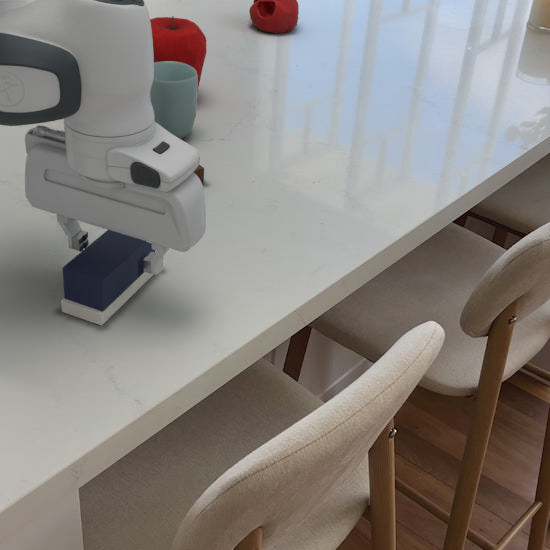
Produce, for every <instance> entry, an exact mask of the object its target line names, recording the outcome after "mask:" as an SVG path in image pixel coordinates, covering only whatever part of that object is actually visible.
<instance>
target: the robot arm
mask: <svg viewBox="0 0 550 550" xmlns="http://www.w3.org/2000/svg"><path fill="white" fill-rule="evenodd" d="M150 19H151V18H150V13H149V10H148V7H147V4H146V2H145V0H0V126H4V127H19V126H20V127H21V126H29V125H36V124H37V125H36V126H35V127H32V128H30V129H28V130H27V132H26V133H25V135H24V145H25V153H26V157H25V158H26V159H25V168H24V194H25V198H26V200H27V201H28V202H29V204H30V205H31V207H32V208H35V209H37V210H38V209H39V210H42V211H45V212H48V213H52V214H54V215H56V221H57V223H58V224H59V226H60V228H61V229H62V231H63V233H64V234H65V236H66V237H67V242H68V244H67V245H68V249H70V250H74V251H77V252H79V253H81V252H82V251H83V250H84V249H85V248H87V247H88V246H89V232H88V231H86V230H83V228H82V227H81V225H80V223H79V222H82V223H85V224H88V225H92V226H94V227H98V228H101V229H104V230H111V231H114V232H118V233H121V234H124V235H128V236H131V237H134V238H137V239H141V240H144V241H146V242H149V243H152V249H153V250H155V252H151V253H150V254H148V256H147V257H145V258H144V259H143V265H144V268H143V270H144V272H147V273H150V274H153V276H158V275H159V274H160V273H161V272H162V271H163V269H164V256H165V255H166V254H167V253H168V251H169V250H170V249H171V250H174V251H177V252H180V253H186V252H189V250H191V249H192V248H193V247H195V246H196V245H197V244H198V243H199V242H200V241H201V240H202V238H203V237H204V236H205V233H206V228H207V226H206V225H207V218H206V217H207V213H206V212H207V211H206V197H205V190H204V187H203V186H204V185H202V183H201V181H200V179H199V177H198V176H197V175H196V174H195V173H194V171H195V169H196V168H197V167H198V166H199V165H200V162H201V155H200V152H199V150H198V149H197V148H196V147H194V146H192V145H191V144H189V143H188V142H186V141H184V140H182V138H181V139H179V138H178V137H176V136H174V135H173V134H171V133H170V132H168V131H167V130H166V129H164V128H163V127H162V126H160V125H159V124H158V123H156V122H155V115H154V110H153V107H152V104H151V99H150V91H151V87H152V83H153V80H154V53H153V38H152V29H151V22H150ZM59 120H63V128H64V130H60V129H55V128H50V126H46V125H41V124H45V123H49V122H55V121H59Z"/></svg>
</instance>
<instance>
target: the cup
mask: <svg viewBox="0 0 550 550" xmlns="http://www.w3.org/2000/svg"><path fill="white" fill-rule="evenodd" d="M197 86H198V76H197V71H196V70H195V69H194V68H193V67H191V66H190V65H187V64H185V63H181V62H175V61H162V62H155V63H154V80H153V83H152V87H151V91H150V99H151V104H152V107H153V110H154V115H155V122H156V123H158V124H159V125H160V126H162V127H163V128H164V129H166V130H167V131H168V132H170V133H171V134H173V135H174V136H176V137H178V138H179V139H181V140H182V139H184V138H185V137H187V136H188V135H189V134H190V133H191V131H192V130H193V127H194V124H195V121H196V116H197V106H198V92H197Z"/></svg>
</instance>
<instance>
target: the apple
mask: <svg viewBox="0 0 550 550" xmlns="http://www.w3.org/2000/svg"><path fill="white" fill-rule="evenodd" d="M150 22H151V29H152V38H153V53H154V63H155V62H162V61H175V62H181V63H185V64H187V65H190V66H191V67H193V68H194V69H195V70H196V71H197V76H198V86H197V93H198V91H199V87H200V83H201V77H202V74H203V73H202V72H203V67H204V65H205V64H204V63H205V60H206V56H207V37H206V35H205V33H204V32H203V31H202V29H201V28H200V26H199V25H198V24H197V23H195V22H194V21H193V20H190V19H188V18H180V17H175V16H173V15H172V16H171V17H169V16H163V17H162V16H161V17H160V16H159V17H157V16H156V17H154V18H150Z"/></svg>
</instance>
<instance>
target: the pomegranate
mask: <svg viewBox="0 0 550 550" xmlns="http://www.w3.org/2000/svg"><path fill="white" fill-rule="evenodd" d="M299 13H300V11H299V2H298V0H253V3H252V5H251V6H250V7H249V13H248V14H249V18H250V21H251V23H252V25H254V26H255V27H256V28H257V29H259V30H260V31H262V32H265V33H272V34H284V33H287V32H291V31H292V30H294V29H295V28H296V27H297V25H298V21H299Z"/></svg>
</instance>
